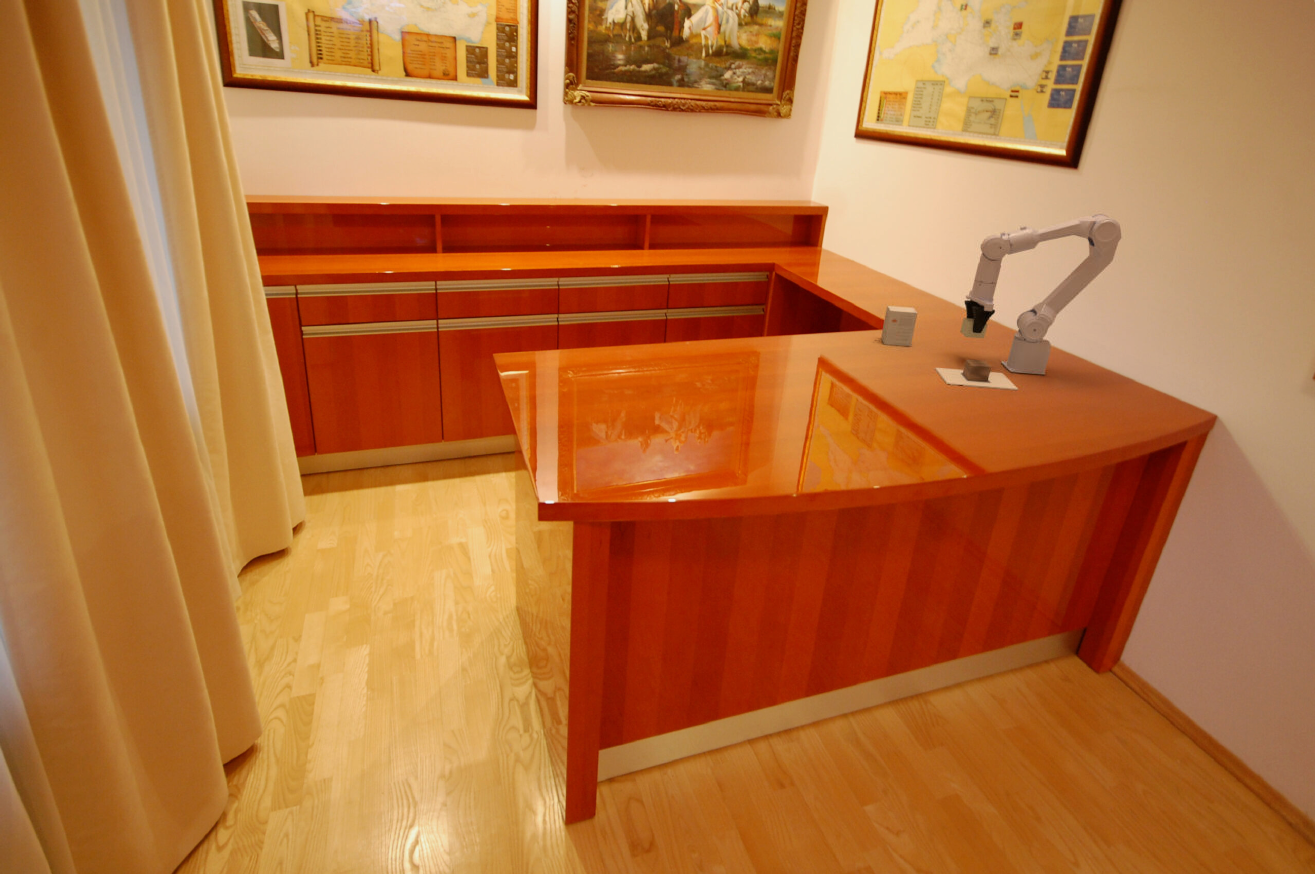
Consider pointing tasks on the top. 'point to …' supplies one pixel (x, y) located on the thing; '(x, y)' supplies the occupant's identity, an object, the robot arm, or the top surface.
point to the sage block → (971, 329)
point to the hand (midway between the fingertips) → (973, 329)
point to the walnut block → (976, 370)
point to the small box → (899, 326)
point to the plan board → (959, 379)
